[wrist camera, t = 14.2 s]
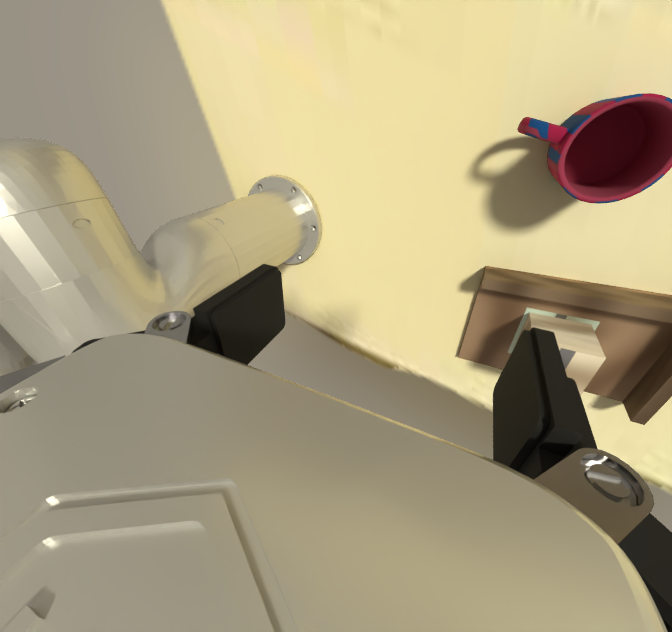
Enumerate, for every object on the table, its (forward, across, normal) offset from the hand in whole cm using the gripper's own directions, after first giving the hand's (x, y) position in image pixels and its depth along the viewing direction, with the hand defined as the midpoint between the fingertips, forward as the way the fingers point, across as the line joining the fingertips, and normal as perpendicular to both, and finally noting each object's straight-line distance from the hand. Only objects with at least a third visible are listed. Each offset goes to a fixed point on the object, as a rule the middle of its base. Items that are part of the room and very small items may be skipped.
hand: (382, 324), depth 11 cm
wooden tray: (+27, -16, +14) cm, 34 cm away
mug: (+27, -9, -6) cm, 29 cm away
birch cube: (+26, -15, +15) cm, 34 cm away
